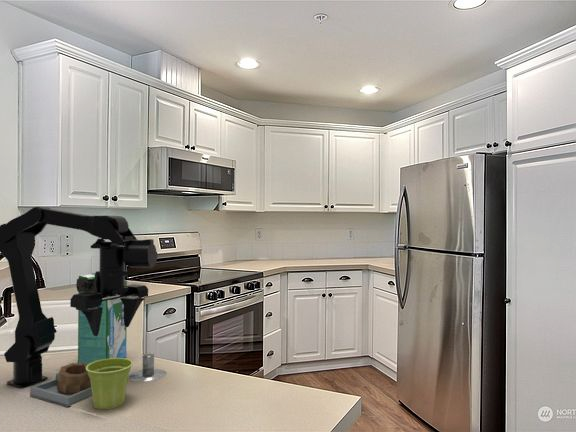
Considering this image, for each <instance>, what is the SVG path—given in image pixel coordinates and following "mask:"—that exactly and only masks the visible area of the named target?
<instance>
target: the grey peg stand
mask: <svg viewBox="0 0 576 432" xmlns="http://www.w3.org/2000/svg"><path fill="white" fill-rule="evenodd" d="M166 376H167V371H166V370H164V369H161V368H160V369H159V368H155V354H154V353H144V354H142V369H141V370H138V371H135V372H133V373H132V374H130V376H128V379H130V380H131V381H132V382H133V381H134V382H138V383H147V382H153V381H154V382H155V381H158V380H160V379H162V378H165V377H166Z"/></svg>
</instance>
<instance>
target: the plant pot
mask: <svg viewBox="0 0 576 432" xmlns="http://www.w3.org/2000/svg"><path fill="white" fill-rule="evenodd" d="M133 365H134V361H133V360H132V359H129V358H127V357H126V358H109V359H102V360H98V361H95V362H92V363H90V364H88V365H87V366H86V371H87V372H88V376H89V377H90V382H91V389H92V396H91V397H92V405H93V408H95V409H97V410H111V409H114V408H117V407H120V406H122V405H123V403H125V400H126V399H125V398H126V392H127V386H128V380H129V374H130V372H131V368H132V366H133Z"/></svg>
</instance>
